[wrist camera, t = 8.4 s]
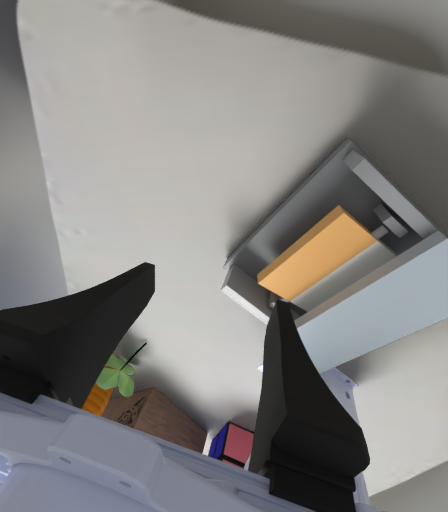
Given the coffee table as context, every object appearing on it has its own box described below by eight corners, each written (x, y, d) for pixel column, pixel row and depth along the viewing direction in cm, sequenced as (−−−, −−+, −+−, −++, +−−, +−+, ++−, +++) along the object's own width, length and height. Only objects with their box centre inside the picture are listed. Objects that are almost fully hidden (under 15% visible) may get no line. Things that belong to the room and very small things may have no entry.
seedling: (142, 320, 40) (114, 350, 40) (115, 328, 32) (80, 366, 32) (173, 352, 39) (145, 383, 38) (152, 368, 31) (117, 408, 31)
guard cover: (491, 282, 15) (503, 293, 14) (315, 364, 22) (316, 374, 21) (438, 230, 14) (447, 238, 13) (274, 333, 21) (273, 342, 20)
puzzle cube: (228, 420, 41) (212, 499, 33) (283, 444, 41) (281, 530, 33) (211, 440, 47) (193, 512, 39) (259, 462, 47) (252, 539, 38)
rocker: (409, 249, 18) (417, 258, 17) (308, 312, 23) (310, 321, 22) (349, 195, 15) (355, 203, 15) (250, 280, 21) (251, 289, 20)
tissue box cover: (128, 441, 58) (100, 496, 50) (81, 406, 54) (42, 461, 46) (207, 431, 46) (189, 504, 37) (155, 385, 42) (120, 456, 33)
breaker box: (460, 249, 19) (504, 287, 15) (316, 330, 26) (320, 369, 22) (347, 137, 17) (363, 147, 13) (226, 259, 24) (214, 288, 21)
